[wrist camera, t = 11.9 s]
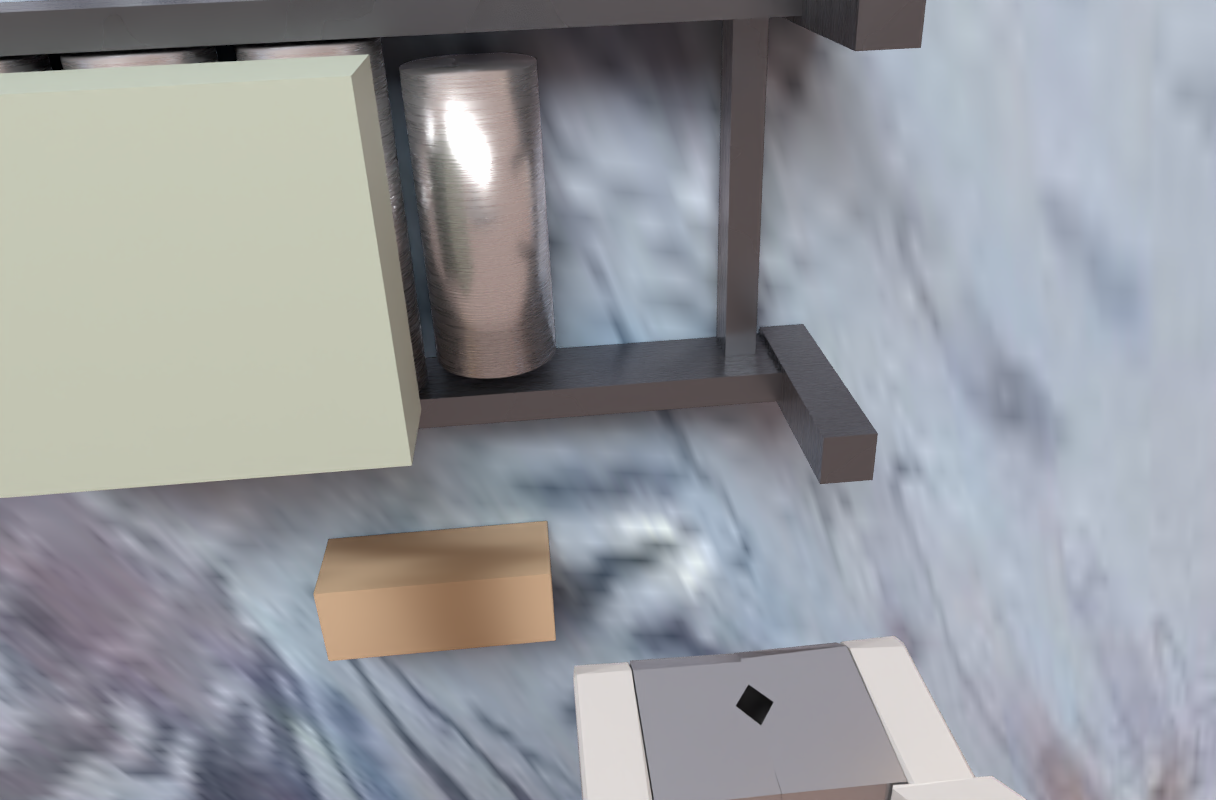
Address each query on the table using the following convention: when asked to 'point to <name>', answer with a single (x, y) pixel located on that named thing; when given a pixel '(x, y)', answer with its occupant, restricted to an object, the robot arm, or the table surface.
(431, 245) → the roller
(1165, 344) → the table surface
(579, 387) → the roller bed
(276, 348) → the slab
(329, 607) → the block
